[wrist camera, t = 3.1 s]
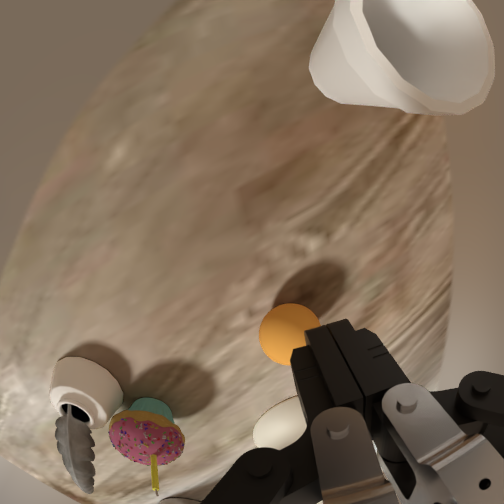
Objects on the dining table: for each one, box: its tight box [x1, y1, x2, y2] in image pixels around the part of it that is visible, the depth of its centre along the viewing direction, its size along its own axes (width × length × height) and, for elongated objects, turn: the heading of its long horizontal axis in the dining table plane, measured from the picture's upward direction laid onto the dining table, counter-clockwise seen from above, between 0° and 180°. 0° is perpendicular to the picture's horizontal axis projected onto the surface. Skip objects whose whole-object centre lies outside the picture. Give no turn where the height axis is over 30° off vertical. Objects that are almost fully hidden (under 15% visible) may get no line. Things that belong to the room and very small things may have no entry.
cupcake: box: [109, 398, 185, 496], centre depth 27 cm, size 9×8×12 cm
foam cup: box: [309, 0, 495, 115], centre depth 16 cm, size 10×9×13 cm
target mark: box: [253, 396, 307, 450], centre depth 36 cm, size 14×14×1 cm
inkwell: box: [49, 357, 123, 494], centre depth 28 cm, size 9×18×10 cm, turn 174°
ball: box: [259, 303, 321, 365], centre depth 27 cm, size 6×6×6 cm
